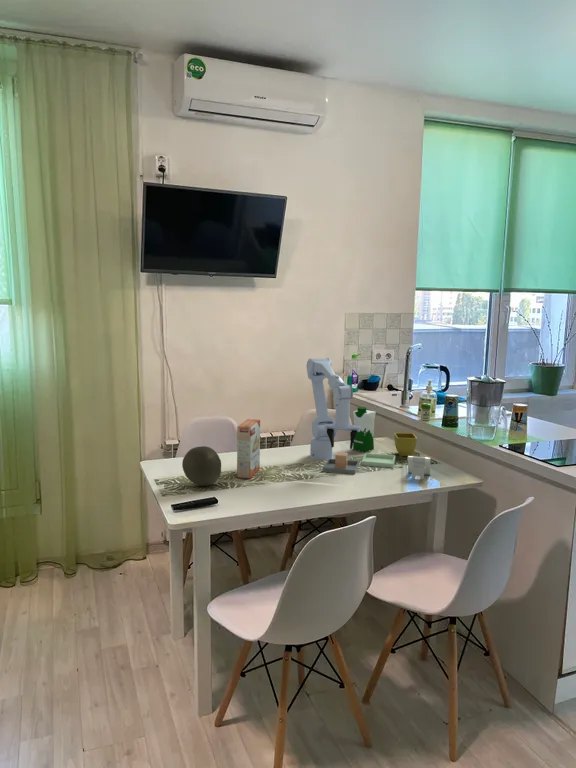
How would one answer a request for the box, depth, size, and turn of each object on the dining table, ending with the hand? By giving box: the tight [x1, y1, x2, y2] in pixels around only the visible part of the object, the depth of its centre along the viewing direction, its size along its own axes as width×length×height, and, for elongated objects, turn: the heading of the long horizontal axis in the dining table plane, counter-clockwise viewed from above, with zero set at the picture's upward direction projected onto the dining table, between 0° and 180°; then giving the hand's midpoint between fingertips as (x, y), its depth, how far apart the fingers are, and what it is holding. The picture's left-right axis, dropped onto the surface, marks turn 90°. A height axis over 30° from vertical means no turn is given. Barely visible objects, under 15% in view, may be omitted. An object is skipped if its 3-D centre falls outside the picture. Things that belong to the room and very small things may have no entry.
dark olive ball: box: [182, 445, 222, 487], centre depth 215 cm, size 14×14×15 cm
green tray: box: [361, 452, 396, 470], centre depth 246 cm, size 13×13×2 cm
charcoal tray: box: [322, 458, 360, 475], centre depth 237 cm, size 13×13×2 cm
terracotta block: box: [334, 451, 349, 469], centre depth 236 cm, size 4×4×6 cm
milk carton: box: [352, 406, 377, 453], centre depth 266 cm, size 9×9×20 cm
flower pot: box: [393, 432, 418, 457], centre depth 258 cm, size 9×9×9 cm
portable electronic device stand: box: [407, 455, 431, 480], centre depth 229 cm, size 9×8×8 cm
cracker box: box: [236, 418, 261, 479], centre depth 230 cm, size 14×6×21 cm, turn 167°
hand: (341, 447), depth 235 cm, fingers open, 7 cm apart
